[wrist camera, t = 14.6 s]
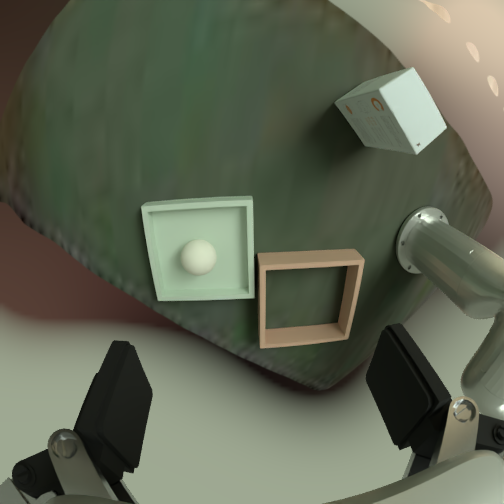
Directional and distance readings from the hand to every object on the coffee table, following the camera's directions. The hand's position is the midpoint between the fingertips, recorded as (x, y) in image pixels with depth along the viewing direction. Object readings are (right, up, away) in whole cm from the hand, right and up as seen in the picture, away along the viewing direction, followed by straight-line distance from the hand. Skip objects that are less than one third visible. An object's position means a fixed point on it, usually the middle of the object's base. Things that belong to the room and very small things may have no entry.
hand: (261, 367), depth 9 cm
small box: (+16, +24, +24) cm, 37 cm away
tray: (-8, +5, +31) cm, 32 cm away
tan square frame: (+8, -3, +35) cm, 36 cm away
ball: (-8, +3, +28) cm, 29 cm away
